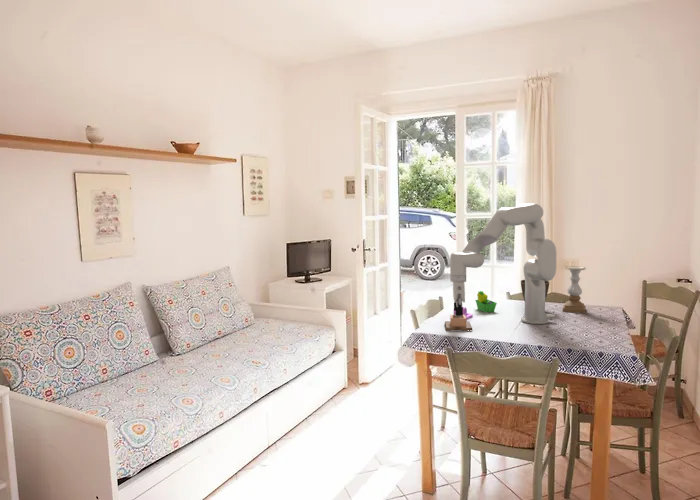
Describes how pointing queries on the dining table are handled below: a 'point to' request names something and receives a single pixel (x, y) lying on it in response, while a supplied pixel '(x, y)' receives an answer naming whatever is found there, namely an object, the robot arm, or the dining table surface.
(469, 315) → the bracket
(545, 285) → the plant pot
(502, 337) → the dining table surface
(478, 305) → the fruit basket
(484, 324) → the dining table surface
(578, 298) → the candle holder
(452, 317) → the collar
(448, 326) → the post stand
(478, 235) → the robot arm
